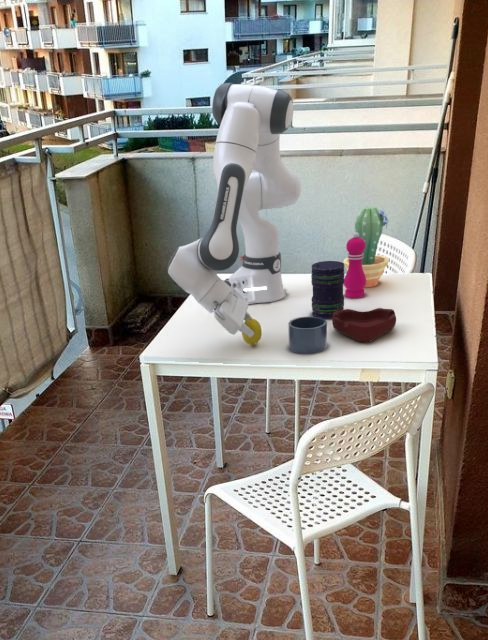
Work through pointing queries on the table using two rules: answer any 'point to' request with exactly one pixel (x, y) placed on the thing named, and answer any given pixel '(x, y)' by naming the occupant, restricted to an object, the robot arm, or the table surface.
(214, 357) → the table surface
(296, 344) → the cup
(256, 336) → the lemon
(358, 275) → the pepper mill
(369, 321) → the ashtray
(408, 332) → the table surface
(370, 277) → the potted cactus
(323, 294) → the dark blue barrel
